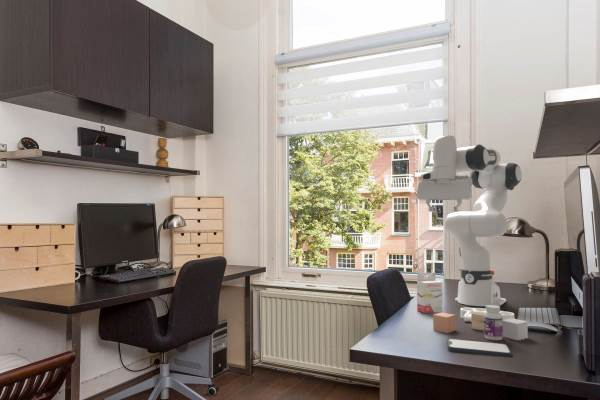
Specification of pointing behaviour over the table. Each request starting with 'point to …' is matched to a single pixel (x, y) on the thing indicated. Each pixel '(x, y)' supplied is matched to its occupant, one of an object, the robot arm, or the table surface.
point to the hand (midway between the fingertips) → (443, 211)
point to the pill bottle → (493, 323)
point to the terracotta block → (444, 322)
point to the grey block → (515, 329)
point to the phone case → (478, 347)
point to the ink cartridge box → (429, 293)
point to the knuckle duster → (467, 312)
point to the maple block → (477, 320)
